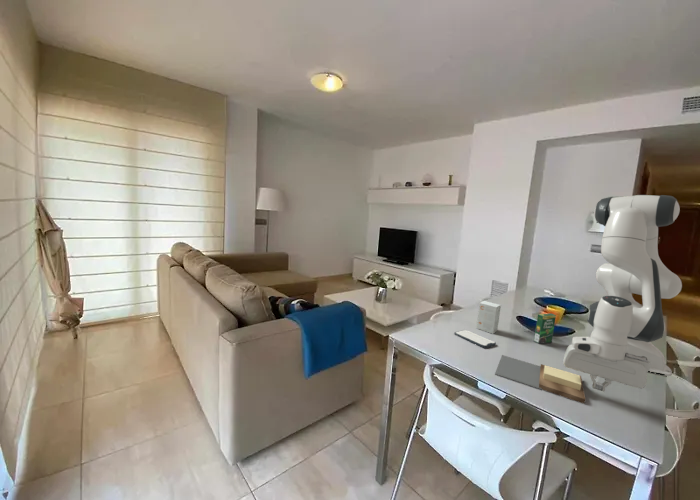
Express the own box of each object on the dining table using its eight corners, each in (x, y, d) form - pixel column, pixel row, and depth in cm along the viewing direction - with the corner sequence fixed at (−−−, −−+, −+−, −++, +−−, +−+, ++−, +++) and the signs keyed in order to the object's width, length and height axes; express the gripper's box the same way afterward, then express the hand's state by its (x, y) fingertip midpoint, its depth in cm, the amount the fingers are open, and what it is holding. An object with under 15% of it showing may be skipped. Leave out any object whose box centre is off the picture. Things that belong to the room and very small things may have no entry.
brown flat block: (580, 379, 107) (581, 375, 107) (584, 403, 93) (585, 399, 92) (540, 367, 113) (540, 364, 113) (538, 388, 99) (539, 384, 99)
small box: (497, 330, 147) (501, 304, 145) (493, 334, 143) (497, 307, 141) (480, 325, 153) (484, 300, 151) (475, 328, 148) (479, 302, 146)
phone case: (452, 335, 139) (484, 350, 126) (453, 332, 139) (484, 346, 125) (465, 332, 144) (496, 346, 130) (465, 329, 144) (497, 342, 130)
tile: (578, 380, 103) (579, 375, 103) (580, 390, 97) (581, 384, 97) (543, 370, 108) (544, 365, 108) (543, 378, 103) (544, 373, 102)
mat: (543, 368, 113) (543, 367, 113) (542, 390, 98) (542, 389, 98) (501, 355, 121) (502, 354, 121) (494, 374, 106) (495, 373, 106)
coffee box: (538, 344, 135) (543, 315, 133) (532, 341, 138) (537, 313, 136) (552, 343, 138) (557, 315, 136) (546, 340, 140) (551, 313, 139)
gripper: (649, 355, 93) (639, 397, 94) (567, 335, 103) (560, 373, 105) (655, 363, 87) (644, 407, 89) (568, 341, 98) (560, 381, 100)
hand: (598, 389), depth 97 cm, fingers closed
